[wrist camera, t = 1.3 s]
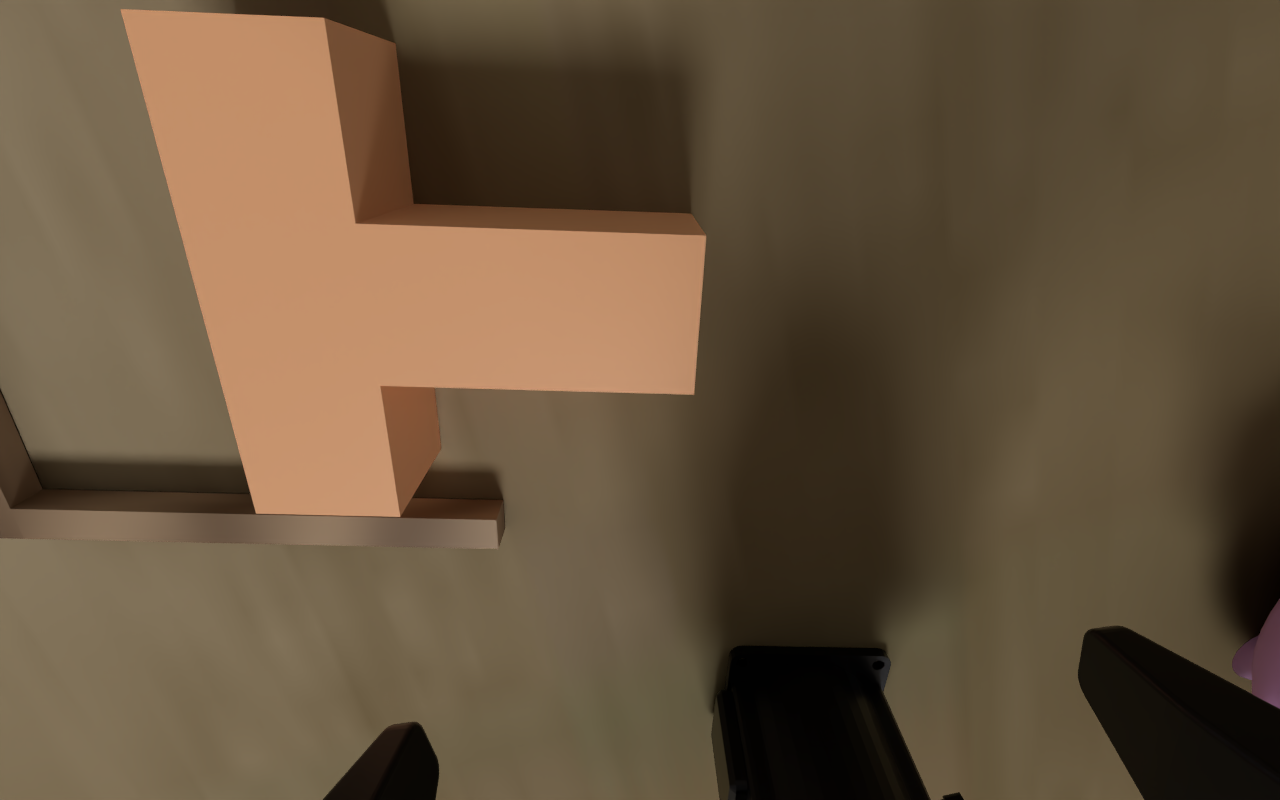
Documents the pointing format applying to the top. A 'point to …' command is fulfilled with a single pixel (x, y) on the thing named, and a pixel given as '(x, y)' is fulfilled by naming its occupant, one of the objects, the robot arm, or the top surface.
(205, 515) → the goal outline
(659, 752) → the top surface
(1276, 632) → the teapot
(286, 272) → the t puck
